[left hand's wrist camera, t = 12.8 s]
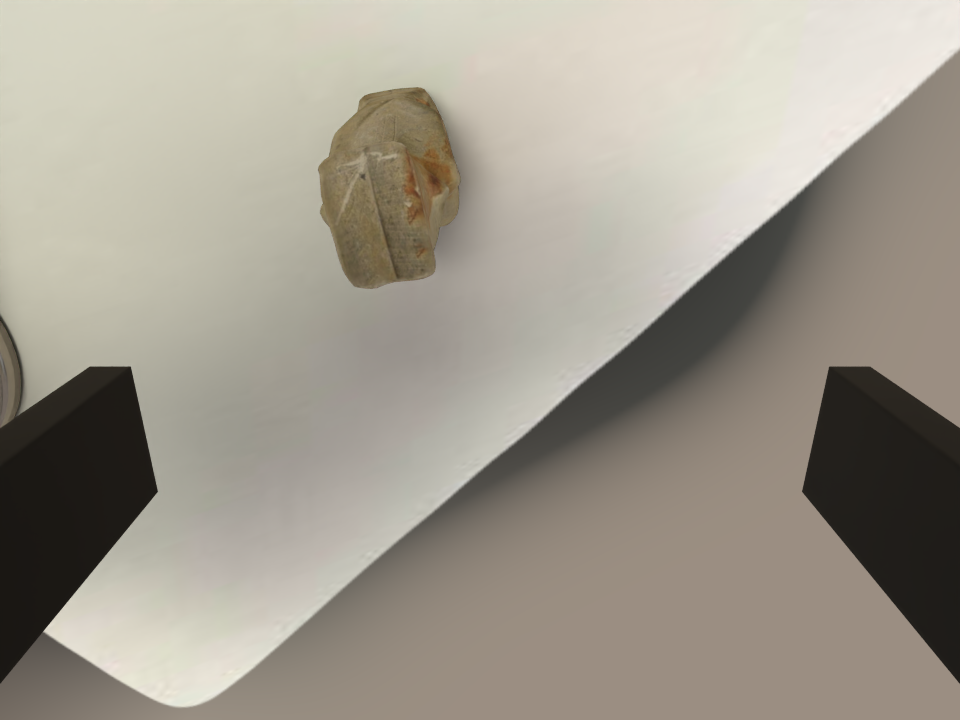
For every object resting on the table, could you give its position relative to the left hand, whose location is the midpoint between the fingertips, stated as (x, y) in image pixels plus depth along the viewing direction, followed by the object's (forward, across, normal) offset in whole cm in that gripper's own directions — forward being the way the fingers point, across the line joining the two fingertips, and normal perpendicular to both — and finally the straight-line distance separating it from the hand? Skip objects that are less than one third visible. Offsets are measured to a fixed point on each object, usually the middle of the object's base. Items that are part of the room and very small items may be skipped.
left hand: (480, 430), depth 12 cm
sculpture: (+27, +4, -3) cm, 27 cm away
